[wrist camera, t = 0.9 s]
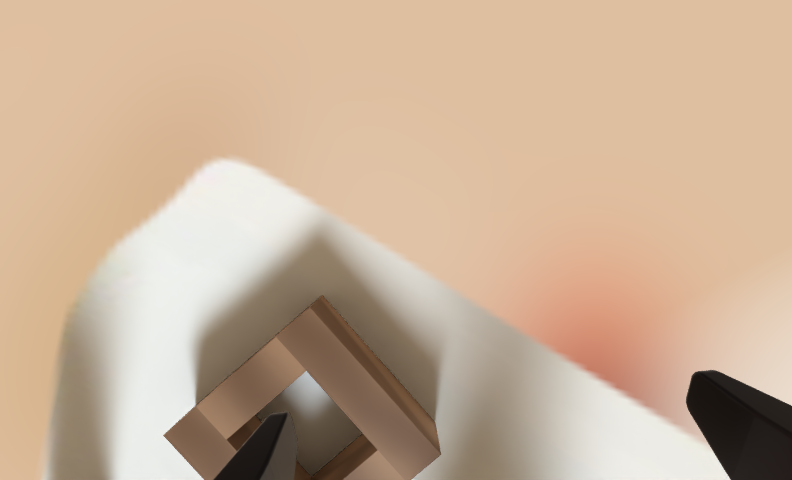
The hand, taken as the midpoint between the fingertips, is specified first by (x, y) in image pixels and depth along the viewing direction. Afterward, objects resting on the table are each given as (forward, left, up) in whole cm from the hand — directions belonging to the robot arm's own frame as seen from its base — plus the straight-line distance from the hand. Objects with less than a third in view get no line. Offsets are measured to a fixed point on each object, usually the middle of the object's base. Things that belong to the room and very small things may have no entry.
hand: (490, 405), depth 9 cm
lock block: (-11, -1, -16) cm, 20 cm away
